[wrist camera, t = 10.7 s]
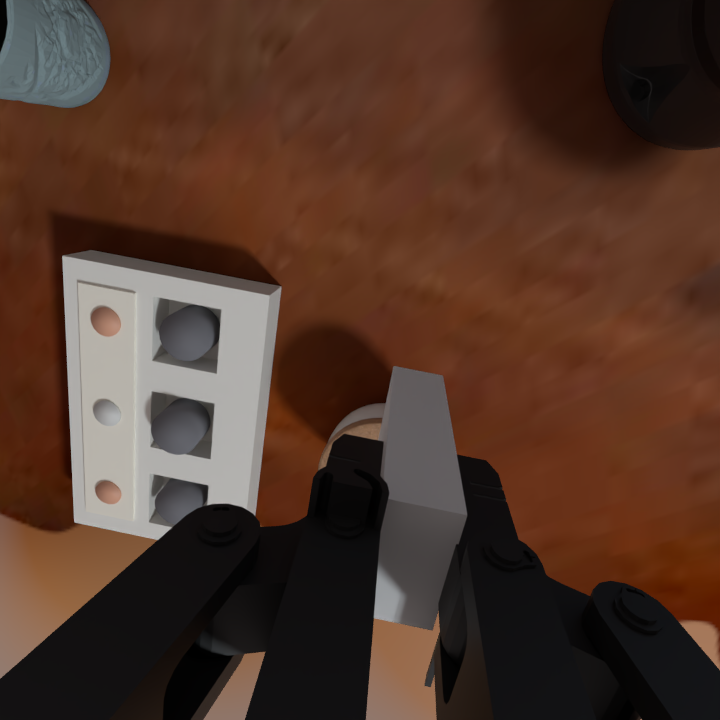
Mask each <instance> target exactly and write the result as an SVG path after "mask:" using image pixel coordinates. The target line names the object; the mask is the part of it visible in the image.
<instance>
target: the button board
mask: <svg viewBox="0 0 720 720" xmlns="http://www.w3.org/2000/svg"><path fill="white" fill-rule="evenodd" d="M62 261H63V283H64V305H65V327H66V349H67V371H68V393H69V415H70V437H71V459H72V481H73V503H74V522H75V523H80V524H85V525H90V526H94V527H99V528H104V529H109V530H113V531H118V532H123V533H128V534H133V535H137V536H142V537H147V538H151V539H156V540H159V539H160V538H161V537H162V536H163V535H164V534H165V533H166V532H168V531H169V530H170V529H171V528H172V527H173V526H174V525H175V524H171V523H169V522H167V521H166V520H164V519H163V518H162V517H161V516H160V515H159V514H158V512H157V510H156V508H155V498H156V496H157V494H158V493H159V492H160V491H161V489H162V488H163V487H164V486H165V485H166V483H167V482H168V481H169V480H170V479H171V478H175V479H180V480H185V481H189V482H194V483H199V484H204V485H208V488H209V489H208V499H207V501H206V502H205V504H204V505H203V506H207V505H210V504H232V505H236V506H240V507H243V508H245V509H246V510H248V511H250V512H251V513H253V514H254V516H255V513H256V504H257V495H258V487H259V478H260V469H261V461H262V452H263V443H264V435H265V426H266V417H267V409H268V400H269V391H270V382H271V374H272V365H273V356H274V348H275V339H276V330H277V322H278V313H279V304H280V296H281V287H282V286H277V285H272V284H267V283H262V282H256V281H251V280H246V279H241V278H235V277H230V276H225V275H220V274H215V273H209V272H204V271H199V270H194V269H188V268H183V267H178V266H173V265H168V264H162V263H157V262H152V261H147V260H141V259H136V258H131V257H126V256H120V255H115V254H110V253H105V252H100V251H94V250H89V251H84V252H79V253H73V254H68V255H63V256H62ZM188 305H201V306H204V307H206V308H208V309H210V310H211V311H212V312H213V313H214V314H215V315H216V317H217V318H218V320H219V322H220V337H219V341H218V342H217V344H216V345H215V346H213V347H212V348H211V349H210V350H209V351H207V352H206V353H205V354H204V355H202V356H201V357H200V358H198V359H196V360H193V361H182V360H179V359H176V358H174V357H173V356H171V355H170V354H169V353H168V352H167V351H166V350H165V349H164V347H163V346H162V343H161V341H160V337H159V329H160V326H161V323H162V322H163V320H164V319H165V318H166V317H167V316H169V315H171V314H173V313H174V312H176V311H178V310H180V309H182V308H184V307H186V306H188ZM180 398H189V399H193V400H196V401H197V402H199V403H201V404H202V405H203V406H204V407H205V408H206V410H207V411H208V413H209V416H210V428H209V430H208V432H207V433H206V434H205V435H204V437H203V438H202V439H201V440H200V441H199V443H198V444H197V445H196V446H195V448H194V449H193V450H192V451H190V452H188V453H186V454H182V455H175V454H171V453H168V452H166V451H164V450H163V449H161V448H160V447H159V446H158V445H157V444H156V443H155V441H154V439H153V437H152V434H151V425H152V422H153V420H154V419H155V418H156V417H157V416H158V415H159V414H160V413H161V412H162V411H163V410H164V409H165V408H166V407H168V406H169V405H170V404H171V403H172V402H173V401H175V400H177V399H180Z"/></svg>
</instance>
